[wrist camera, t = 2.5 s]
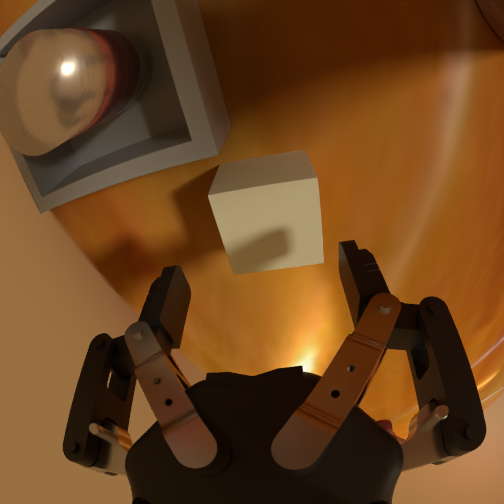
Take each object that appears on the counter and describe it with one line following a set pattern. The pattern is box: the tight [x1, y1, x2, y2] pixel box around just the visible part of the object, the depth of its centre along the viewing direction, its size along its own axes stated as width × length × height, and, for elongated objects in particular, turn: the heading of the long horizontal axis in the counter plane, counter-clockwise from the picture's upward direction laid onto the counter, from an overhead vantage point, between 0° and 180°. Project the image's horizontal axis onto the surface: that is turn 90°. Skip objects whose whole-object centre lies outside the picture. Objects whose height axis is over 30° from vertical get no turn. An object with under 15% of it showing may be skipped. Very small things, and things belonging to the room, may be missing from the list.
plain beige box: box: [208, 150, 324, 275], centre depth 18 cm, size 6×6×5 cm
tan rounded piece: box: [0, 28, 153, 156], centre depth 10 cm, size 6×6×8 cm
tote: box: [0, 0, 231, 213], centre depth 12 cm, size 13×13×6 cm
